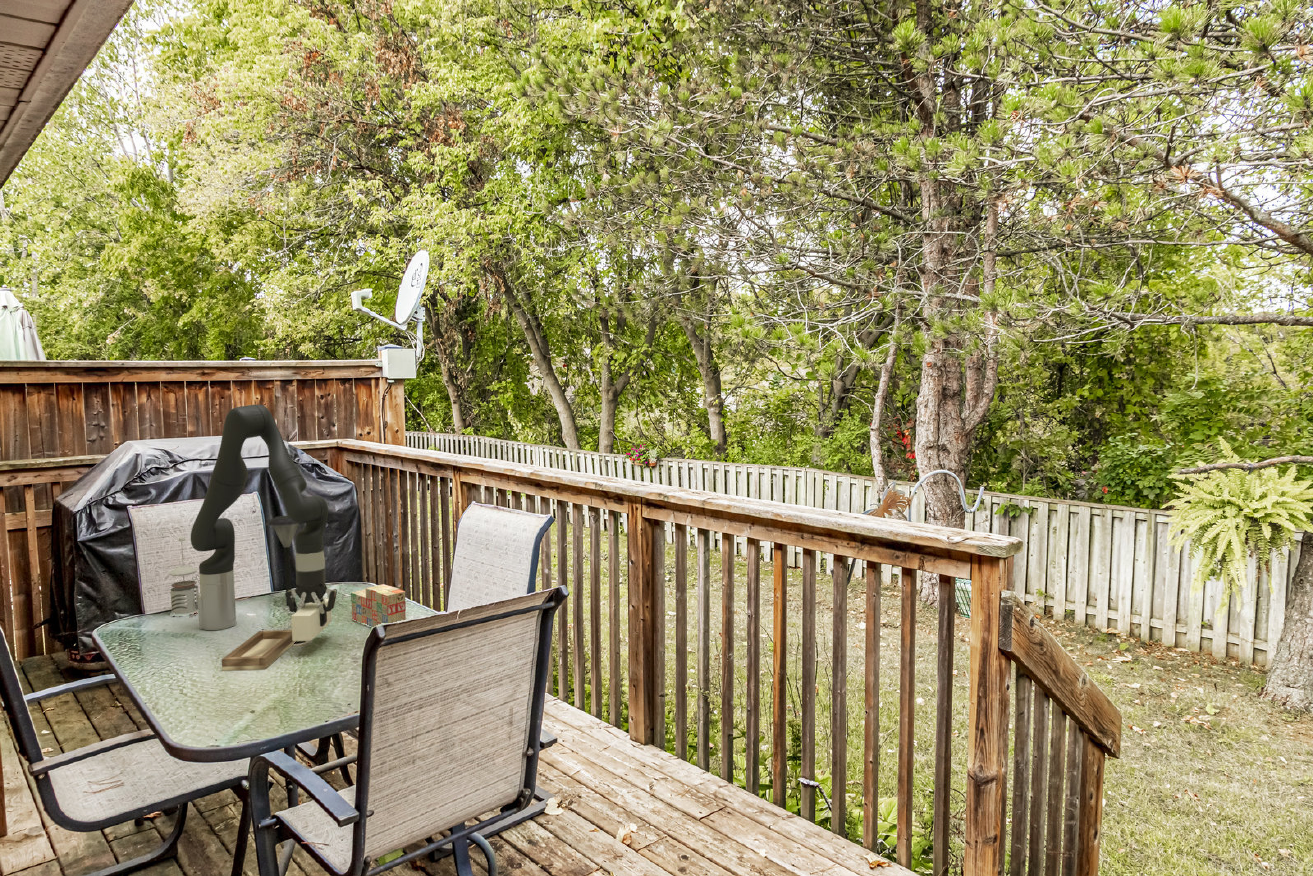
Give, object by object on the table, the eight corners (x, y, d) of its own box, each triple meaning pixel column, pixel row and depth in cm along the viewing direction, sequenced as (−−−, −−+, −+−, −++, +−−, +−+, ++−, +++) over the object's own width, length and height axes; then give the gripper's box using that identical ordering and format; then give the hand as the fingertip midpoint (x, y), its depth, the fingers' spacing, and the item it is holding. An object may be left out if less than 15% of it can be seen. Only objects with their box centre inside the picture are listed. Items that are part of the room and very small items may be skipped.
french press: (183, 607, 263) (179, 533, 261) (214, 608, 261) (210, 534, 259) (160, 616, 253) (156, 540, 251) (193, 618, 251) (189, 540, 249)
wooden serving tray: (222, 670, 206) (221, 659, 206) (259, 641, 229) (259, 631, 229) (265, 669, 207) (265, 658, 207) (298, 639, 230) (298, 629, 230)
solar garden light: (314, 599, 271) (311, 513, 269) (300, 610, 259) (296, 520, 257) (278, 600, 271) (274, 514, 268) (262, 611, 258) (258, 520, 256)
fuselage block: (292, 640, 216) (291, 615, 215) (314, 622, 231) (313, 598, 231) (311, 640, 216) (310, 615, 215) (331, 621, 232) (330, 598, 231)
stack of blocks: (351, 621, 247) (350, 582, 246) (370, 616, 252) (368, 578, 251) (388, 635, 234) (386, 595, 233) (406, 630, 238) (405, 590, 237)
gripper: (278, 570, 218) (281, 630, 219) (332, 570, 219) (334, 629, 220) (289, 564, 225) (291, 622, 227) (340, 563, 226) (342, 621, 228)
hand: (312, 625), depth 223 cm, fingers closed on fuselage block, 5 cm apart
